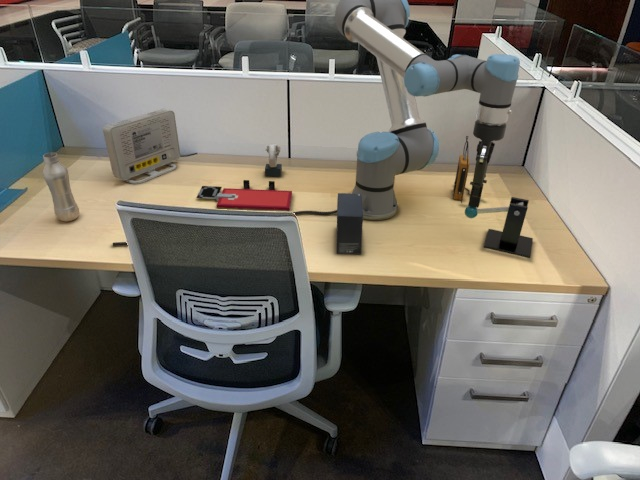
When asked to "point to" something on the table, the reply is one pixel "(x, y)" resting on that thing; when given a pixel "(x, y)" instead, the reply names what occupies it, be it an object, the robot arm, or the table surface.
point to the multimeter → (461, 175)
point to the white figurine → (273, 161)
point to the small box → (349, 223)
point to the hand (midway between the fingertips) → (473, 205)
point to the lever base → (511, 232)
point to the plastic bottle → (59, 188)
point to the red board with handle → (248, 197)
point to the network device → (142, 145)
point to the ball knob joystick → (485, 210)
